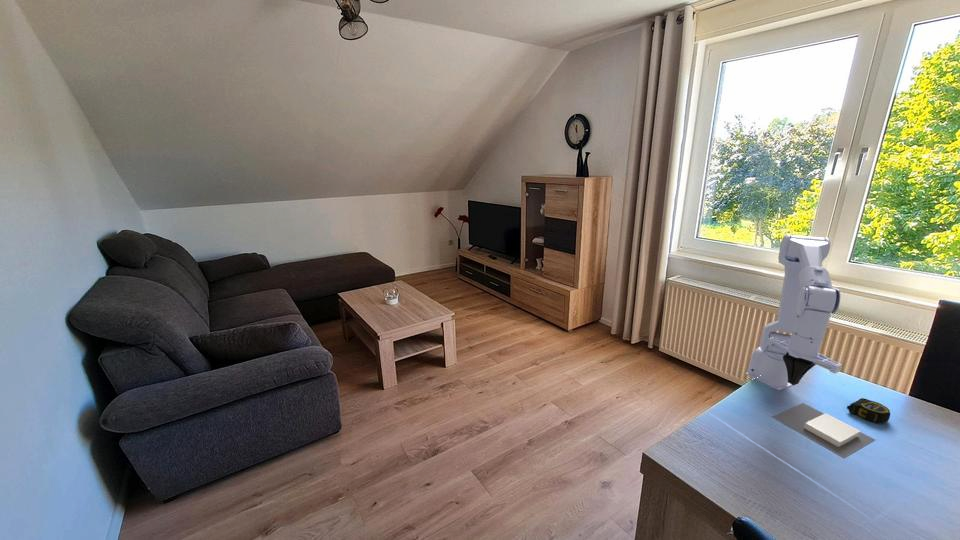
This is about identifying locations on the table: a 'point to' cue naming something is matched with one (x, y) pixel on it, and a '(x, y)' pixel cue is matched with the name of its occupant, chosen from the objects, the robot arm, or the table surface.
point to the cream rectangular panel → (832, 430)
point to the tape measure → (870, 410)
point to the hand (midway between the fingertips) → (792, 382)
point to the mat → (797, 420)
